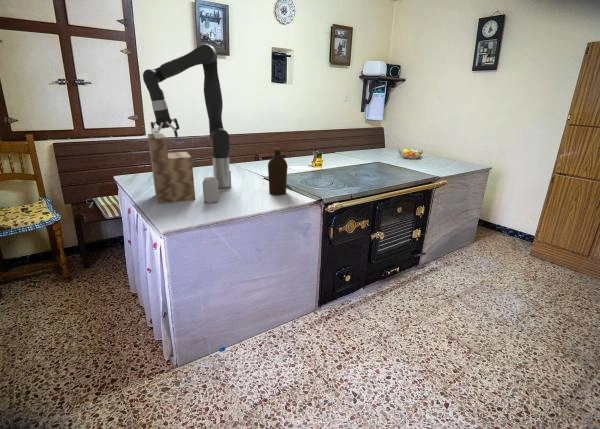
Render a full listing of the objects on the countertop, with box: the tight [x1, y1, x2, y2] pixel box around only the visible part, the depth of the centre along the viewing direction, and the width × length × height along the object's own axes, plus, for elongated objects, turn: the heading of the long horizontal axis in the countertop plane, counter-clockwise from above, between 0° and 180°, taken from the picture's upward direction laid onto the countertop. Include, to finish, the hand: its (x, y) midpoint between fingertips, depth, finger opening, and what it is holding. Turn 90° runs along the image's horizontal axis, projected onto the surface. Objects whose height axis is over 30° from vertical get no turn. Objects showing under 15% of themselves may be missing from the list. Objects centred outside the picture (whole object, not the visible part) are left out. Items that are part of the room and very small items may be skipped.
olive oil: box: [267, 147, 288, 196], centre depth 187 cm, size 11×11×25 cm
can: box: [202, 176, 220, 204], centre depth 173 cm, size 8×8×12 cm
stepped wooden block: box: [147, 132, 196, 204], centre depth 175 cm, size 18×16×32 cm
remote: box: [150, 127, 161, 138], centre depth 169 cm, size 3×26×2 cm, turn 26°
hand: (168, 139), depth 192 cm, fingers open, 8 cm apart
